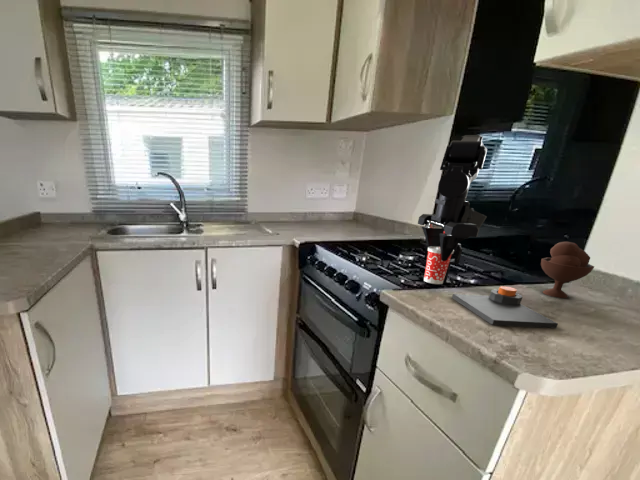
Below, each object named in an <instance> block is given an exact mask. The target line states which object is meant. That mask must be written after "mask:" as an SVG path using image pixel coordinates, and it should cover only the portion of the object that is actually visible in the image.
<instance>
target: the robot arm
mask: <svg viewBox="0 0 640 480" xmlns="http://www.w3.org/2000/svg"><path fill="white" fill-rule="evenodd" d="M483 139H484V136H483V135H480V134H465V135H461V137H460V140H452V141H451V142H450V144H449V145H447V146H446V148H445V150H444V151H445V152H444V154H443V158H442V161H441V165H440V168H439V171H446V172H445V173H444V175H443V176H442V177H441V178H440V180H439V181H438V184H437V185H438V186H437V188H438V192H439V193H440V194H439V198H435V200H434V204H437V207H436V211H435V213H433V214H432V213H431V214H429V213H422V214H421V215H420V216H419V217H418V220H417V225H420V226H421V229H422V232H423V235H424V239H425V241H426V249H425V253H424V258H423V260H424V261H427V256H428V247H430V246H437V247H440V250H441V260H442V261H446V260H447V259H448V257H449V256H450V254H451V253H452V251H453V250H454V252H453V254H452V256H451V259H450V262H449V265H448V268H447V271H446V274H445V278H444V281H443V284H442V285H444V284H445V285H446V284H447V285H451V284H452V281H450V280H448V278H449V273H450V270H451V269H450V268H451V265H453V266H455V265H459V264H460V260H461V256H462V252H463V248H462V244H461V243H460V242H462V241H464V240H466V239H469V238H470V237H471V238H477V237H478V236H479V232H480V228H481V227H482V225H483V224H484V223H485V220H486V219H487V217H488V216H487V215H485V214H483V213H480V212H478V211H476V210H475V209H474V208H473V207H470V205H471V204H470V201H468V200H467V196H468V192H469V189H470V186H471V184H472V182H474V181H475V180H476V179H477V178H478V175H479V172H480V170H483V167H484V163H485V160H486V156H487V152H488V148H487V147H486V145H484V143H483ZM466 200H467V201H466ZM444 231H445V234H444ZM424 276H425V274H424V275H423V274H421V275H420V278H422V280H424Z"/></svg>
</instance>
